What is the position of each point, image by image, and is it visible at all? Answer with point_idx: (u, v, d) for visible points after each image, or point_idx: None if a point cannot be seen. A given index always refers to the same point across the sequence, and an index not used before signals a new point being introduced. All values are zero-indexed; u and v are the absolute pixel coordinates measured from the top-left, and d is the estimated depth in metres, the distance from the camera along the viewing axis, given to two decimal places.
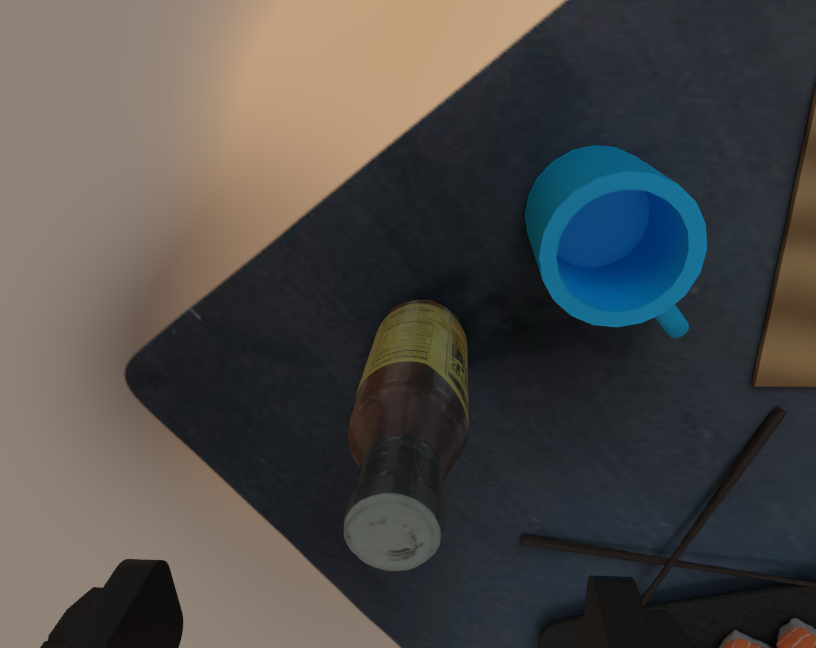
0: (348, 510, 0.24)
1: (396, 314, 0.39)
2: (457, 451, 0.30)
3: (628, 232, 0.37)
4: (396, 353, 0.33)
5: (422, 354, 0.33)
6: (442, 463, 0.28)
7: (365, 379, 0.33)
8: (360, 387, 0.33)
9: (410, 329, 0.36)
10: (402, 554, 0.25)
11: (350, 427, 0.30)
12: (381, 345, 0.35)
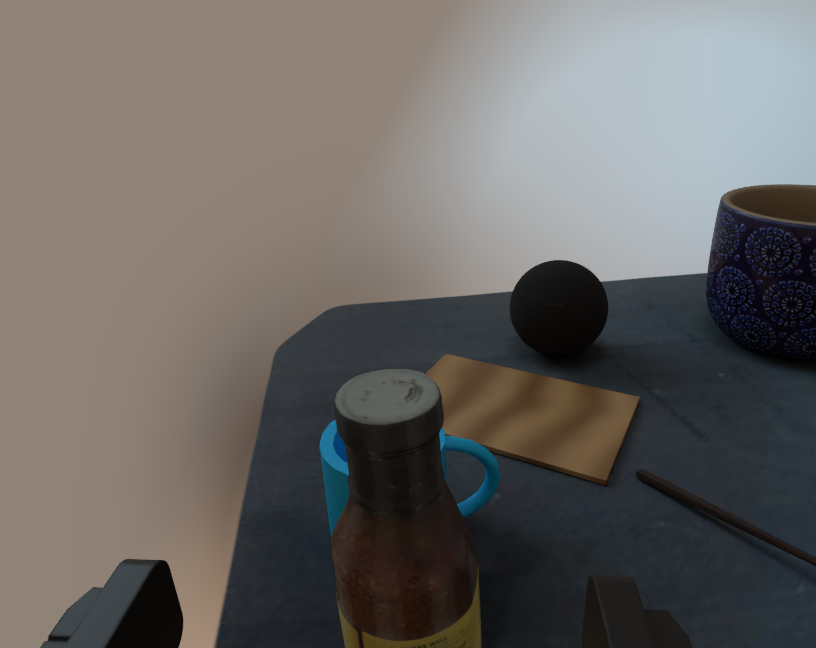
0: (339, 414, 0.22)
1: None
2: None
3: None
4: None
5: None
6: None
7: (338, 604, 0.26)
8: (343, 613, 0.25)
9: None
10: (414, 393, 0.23)
11: (347, 567, 0.24)
12: None
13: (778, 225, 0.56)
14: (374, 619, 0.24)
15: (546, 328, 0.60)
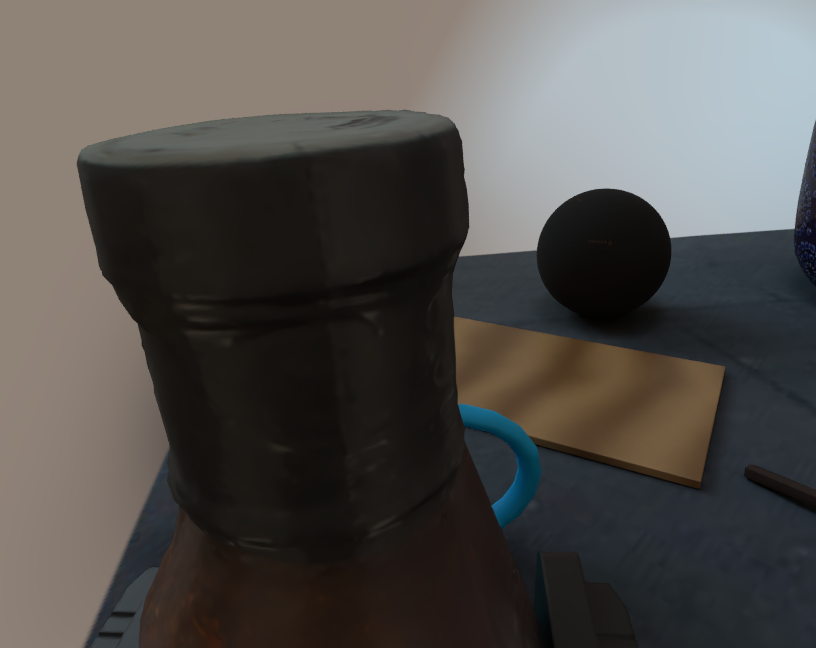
0: (79, 167, 0.06)
1: None
2: None
3: None
4: None
5: None
6: None
7: None
8: None
9: None
10: (370, 121, 0.06)
11: None
12: None
13: None
14: None
15: (589, 275, 0.44)
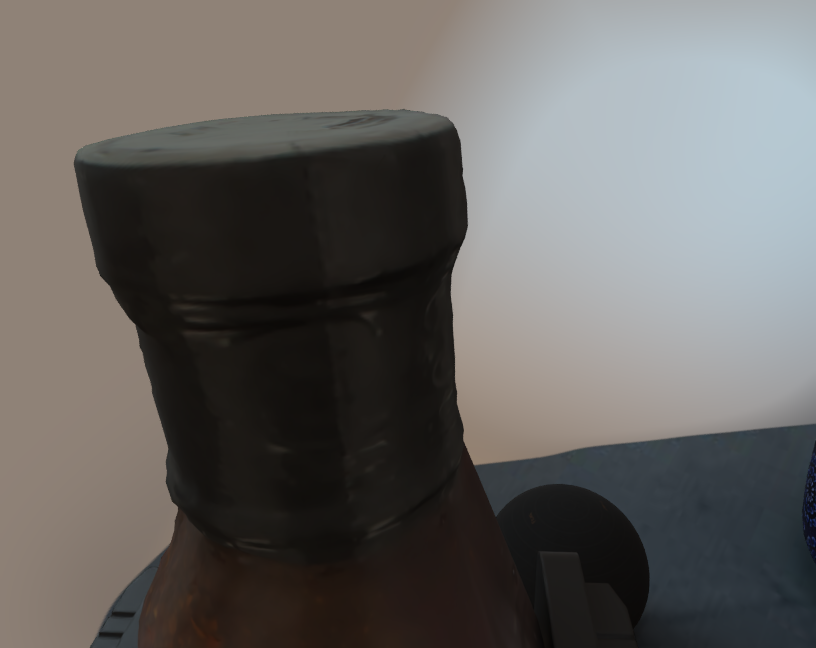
0: None
1: None
2: None
3: None
4: None
5: None
6: None
7: None
8: None
9: None
10: (367, 121, 0.06)
11: None
12: None
13: None
14: None
15: None
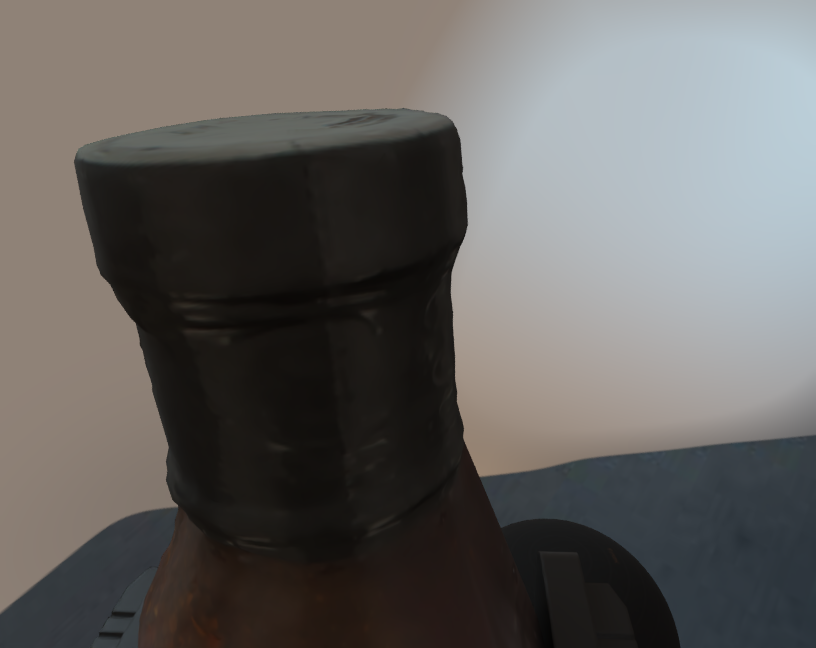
0: (76, 166, 0.06)
1: None
2: None
3: None
4: None
5: None
6: None
7: None
8: None
9: None
10: (368, 119, 0.06)
11: None
12: None
13: None
14: None
15: None
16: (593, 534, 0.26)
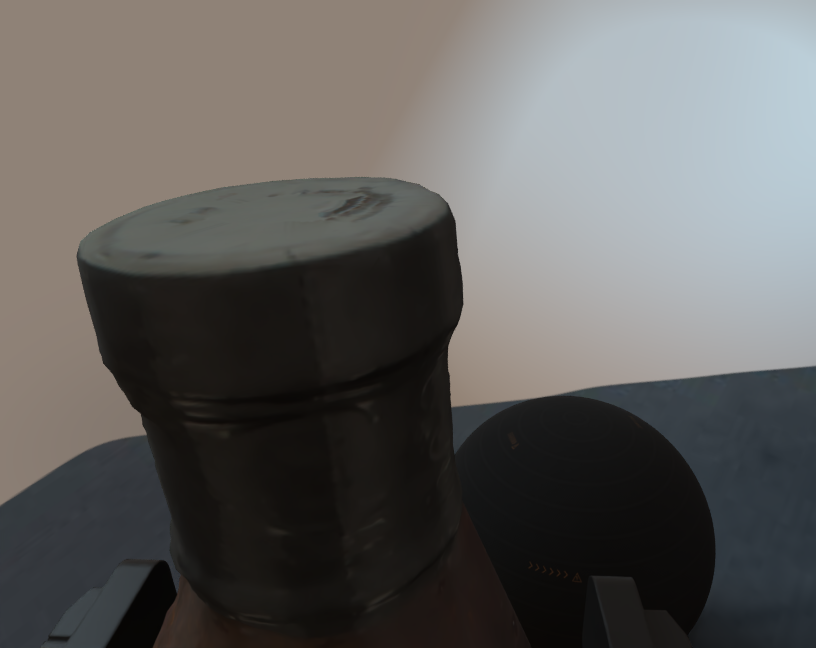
0: None
1: None
2: None
3: None
4: None
5: None
6: None
7: None
8: None
9: None
10: (364, 205, 0.07)
11: None
12: None
13: None
14: None
15: (531, 638, 0.19)
16: (612, 405, 0.23)
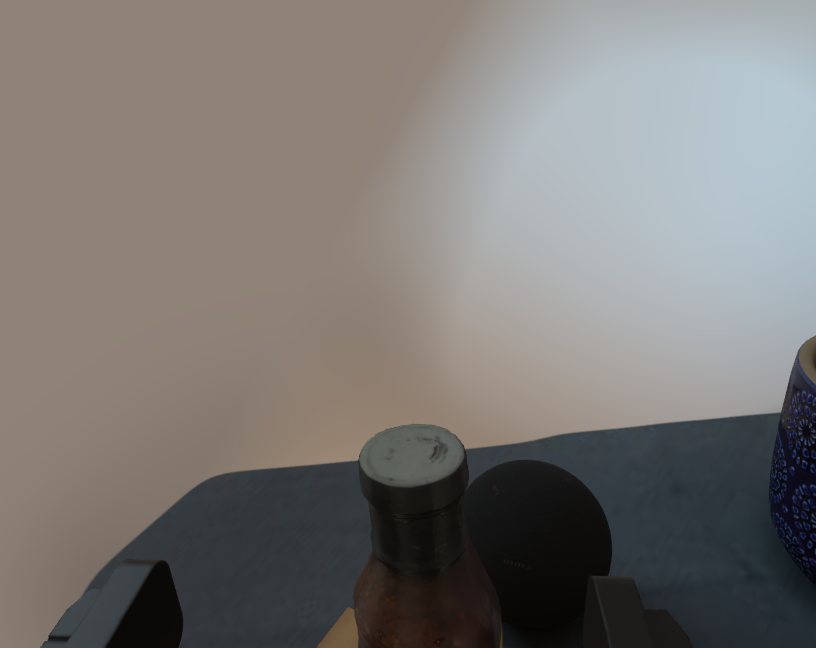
0: (363, 473, 0.22)
1: None
2: None
3: None
4: None
5: None
6: None
7: None
8: None
9: None
10: (439, 452, 0.22)
11: (370, 626, 0.23)
12: None
13: None
14: None
15: (505, 600, 0.35)
16: (555, 467, 0.39)
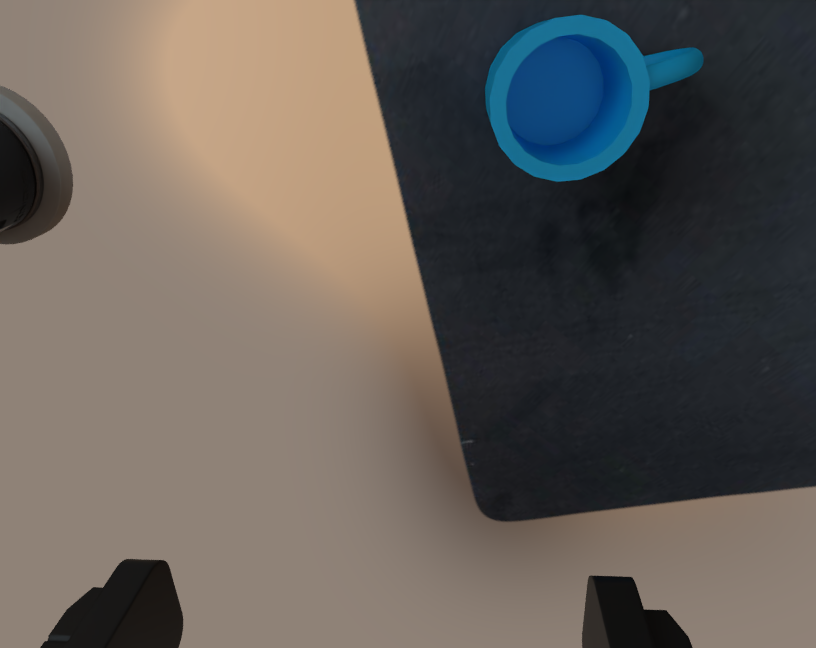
0: None
1: None
2: None
3: (581, 66, 0.37)
4: None
5: None
6: None
7: None
8: None
9: None
10: None
11: None
12: None
13: None
14: None
15: None
16: None
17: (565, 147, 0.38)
